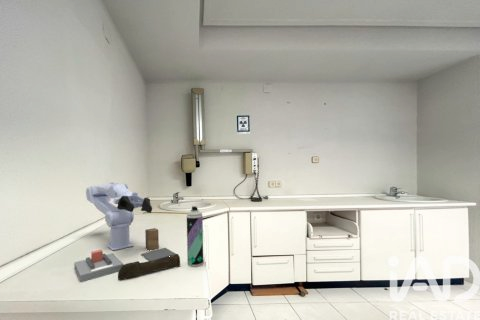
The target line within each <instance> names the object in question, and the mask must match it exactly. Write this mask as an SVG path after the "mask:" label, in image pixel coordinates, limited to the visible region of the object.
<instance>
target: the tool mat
mask: <svg viewBox="0 0 480 320" xmlns="http://www.w3.org/2000/svg"><path fill="white" fill-rule="evenodd" d="M175 254H177V253H176V252H174V251H172V250H170V249H168V248H167V247H162V248H159V249H156V250H152V251H147V252H143V253H140V256H142V257H143V256H144V257H145V258H144V257H143V258H144V259H145V260H146V261H148V260H149V261H153V260H157V259H160V258H164V257H169V256H174V255H175Z"/></svg>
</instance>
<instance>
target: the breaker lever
mask: <svg viewBox="0 0 480 320" xmlns="http://www.w3.org/2000/svg"><path fill="white" fill-rule="evenodd" d="M90 253H91V257H90V259H91V260H92V262H93V263H95V262H99V261H103V254H104V253H103V250H102V249H98V250H93V251H91V252H90Z"/></svg>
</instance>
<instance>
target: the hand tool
mask: <svg viewBox="0 0 480 320" xmlns="http://www.w3.org/2000/svg"><path fill="white" fill-rule="evenodd" d="M180 265H181V257H180V255H179V253H176V254H175V255H173V256H170V257H164V258H160V259H157V260H153V261H148V260H147V261H143V262H140V261H138V260H137V261H134V262H133V261H132V262H128V263H125V264H124V263H123V266H122V267H121V268H120V271H118V273H117V280H118V281H119V280H120V281H122V280H123V281H124V280H129V279H130V280H131V279H134V278H135V279H136V278H139V277H140V276H142V275H143V274H147V273H153V272H156V271H160V270H164V269H168V268H173V267H175V266H177V267H178V268H179V267H180Z"/></svg>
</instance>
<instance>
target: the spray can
mask: <svg viewBox="0 0 480 320" xmlns="http://www.w3.org/2000/svg"><path fill="white" fill-rule="evenodd" d="M203 223H204V221H203V212H202V211H200V210H199V209H198V206H197V205H195V206H194V205H192V207H191V210H189V212H188V213H186V246H187V253H186V254H187V255H186V256H187V266H188V267H190V268H191V267H192V268H197V267H201V266H202V265H204V233H203V232H204V229H203V228H204V224H203Z"/></svg>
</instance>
